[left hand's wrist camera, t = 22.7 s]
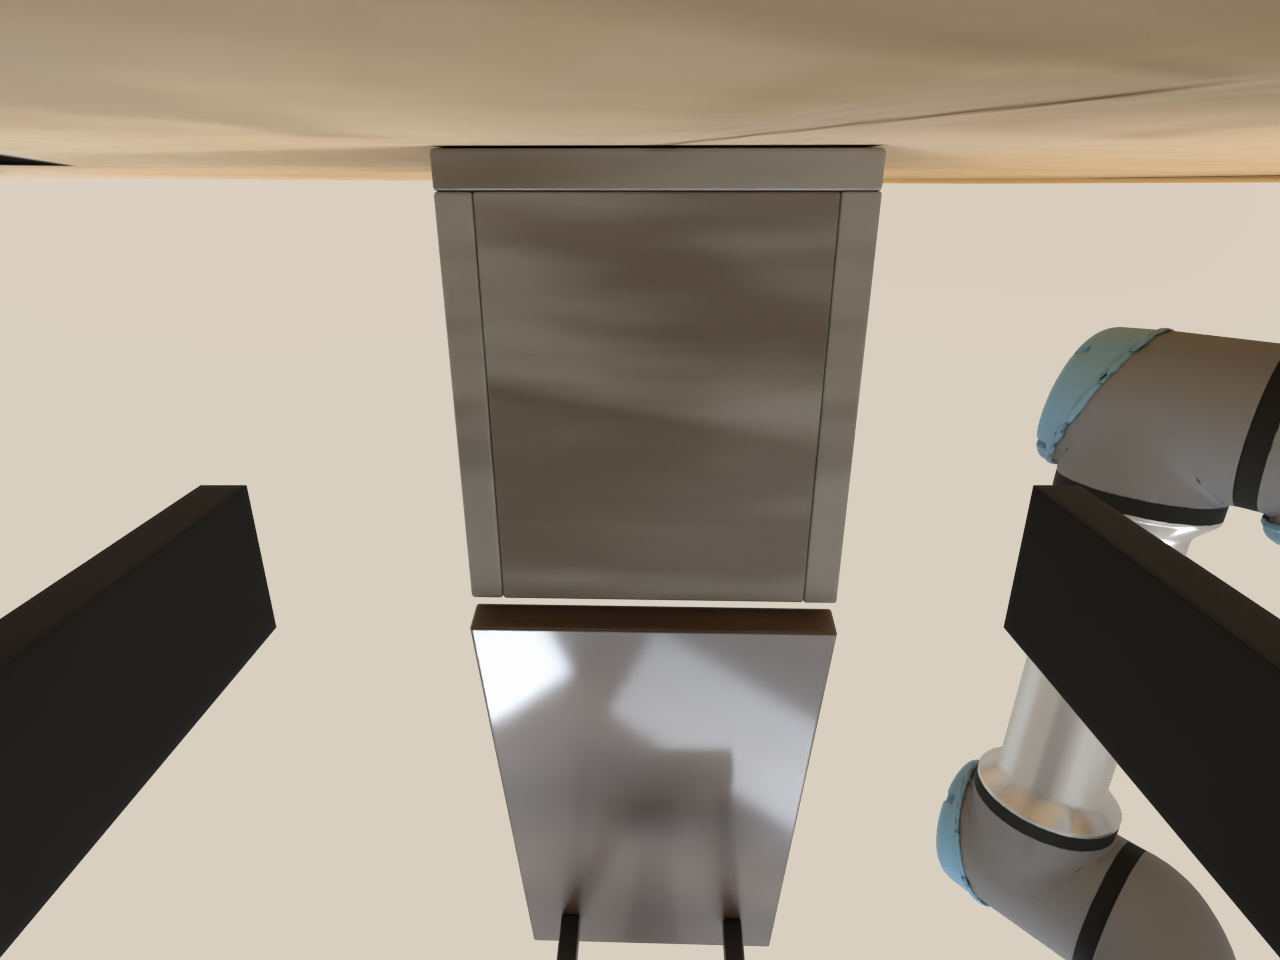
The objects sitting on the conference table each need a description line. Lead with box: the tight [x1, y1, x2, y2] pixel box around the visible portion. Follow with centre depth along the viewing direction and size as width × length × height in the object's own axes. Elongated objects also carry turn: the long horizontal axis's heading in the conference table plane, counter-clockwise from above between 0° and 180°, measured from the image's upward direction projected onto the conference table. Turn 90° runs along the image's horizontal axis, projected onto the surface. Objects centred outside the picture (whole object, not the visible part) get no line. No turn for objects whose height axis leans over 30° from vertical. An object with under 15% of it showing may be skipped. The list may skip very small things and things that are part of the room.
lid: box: [470, 604, 837, 960], centre depth 22 cm, size 18×10×8 cm
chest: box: [430, 148, 886, 603], centre depth 25 cm, size 17×10×11 cm, turn 2°
